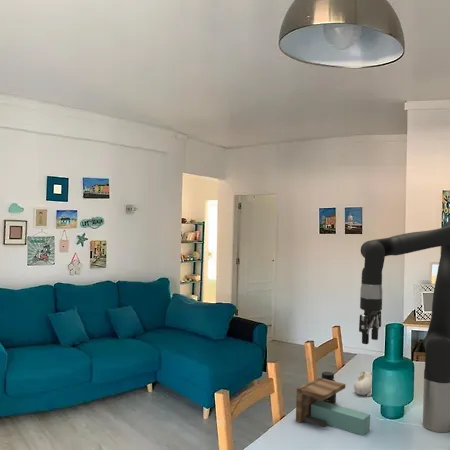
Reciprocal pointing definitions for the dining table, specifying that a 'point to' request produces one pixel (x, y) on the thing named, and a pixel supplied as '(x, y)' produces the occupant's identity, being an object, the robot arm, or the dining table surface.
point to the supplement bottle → (331, 377)
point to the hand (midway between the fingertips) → (369, 341)
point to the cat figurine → (363, 383)
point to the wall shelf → (314, 398)
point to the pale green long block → (341, 417)
